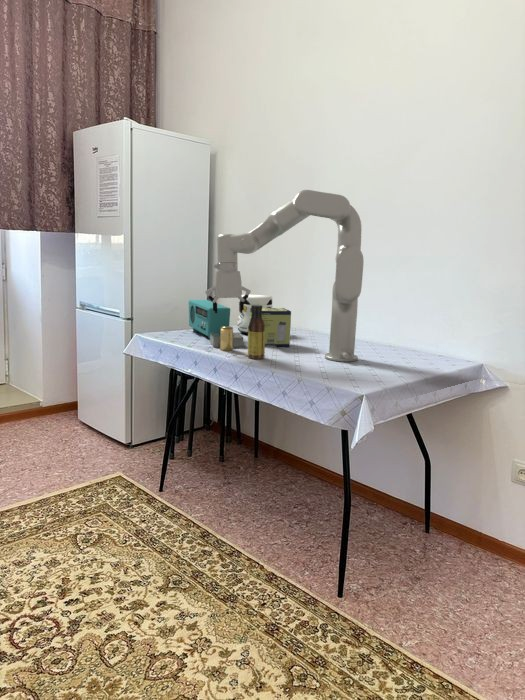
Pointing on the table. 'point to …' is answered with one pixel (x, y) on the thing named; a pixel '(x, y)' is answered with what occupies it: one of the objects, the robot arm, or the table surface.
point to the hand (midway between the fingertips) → (228, 312)
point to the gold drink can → (226, 338)
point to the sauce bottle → (256, 334)
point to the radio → (207, 317)
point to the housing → (216, 340)
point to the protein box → (276, 326)
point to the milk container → (245, 315)
